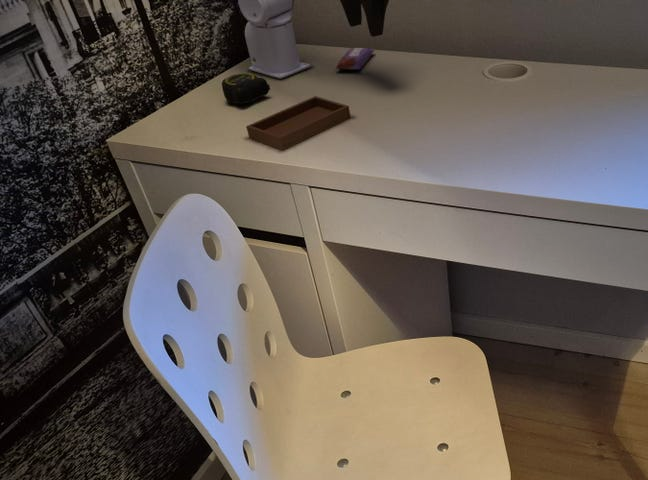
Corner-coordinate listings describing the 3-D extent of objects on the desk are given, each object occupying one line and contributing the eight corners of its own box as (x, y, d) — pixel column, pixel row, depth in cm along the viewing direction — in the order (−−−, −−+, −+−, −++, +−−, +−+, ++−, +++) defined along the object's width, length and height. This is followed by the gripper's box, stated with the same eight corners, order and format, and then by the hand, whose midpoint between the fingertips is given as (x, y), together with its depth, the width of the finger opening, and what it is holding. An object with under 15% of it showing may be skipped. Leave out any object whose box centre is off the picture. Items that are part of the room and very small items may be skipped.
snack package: (351, 43, 137) (374, 44, 136) (352, 53, 138) (376, 54, 138) (333, 63, 129) (357, 64, 128) (334, 73, 130) (359, 74, 129)
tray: (282, 150, 105) (279, 138, 104) (249, 138, 109) (245, 126, 108) (350, 117, 114) (348, 105, 113) (317, 107, 118) (315, 95, 116)
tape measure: (242, 110, 117) (236, 89, 115) (218, 102, 121) (212, 81, 118) (272, 98, 121) (267, 77, 119) (248, 90, 125) (243, 69, 122)
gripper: (398, -55, 108) (406, 35, 117) (354, -68, 116) (365, 16, 125) (360, -48, 104) (371, 43, 114) (318, -62, 113) (331, 24, 122)
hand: (366, 30), depth 119 cm, fingers open, 7 cm apart
